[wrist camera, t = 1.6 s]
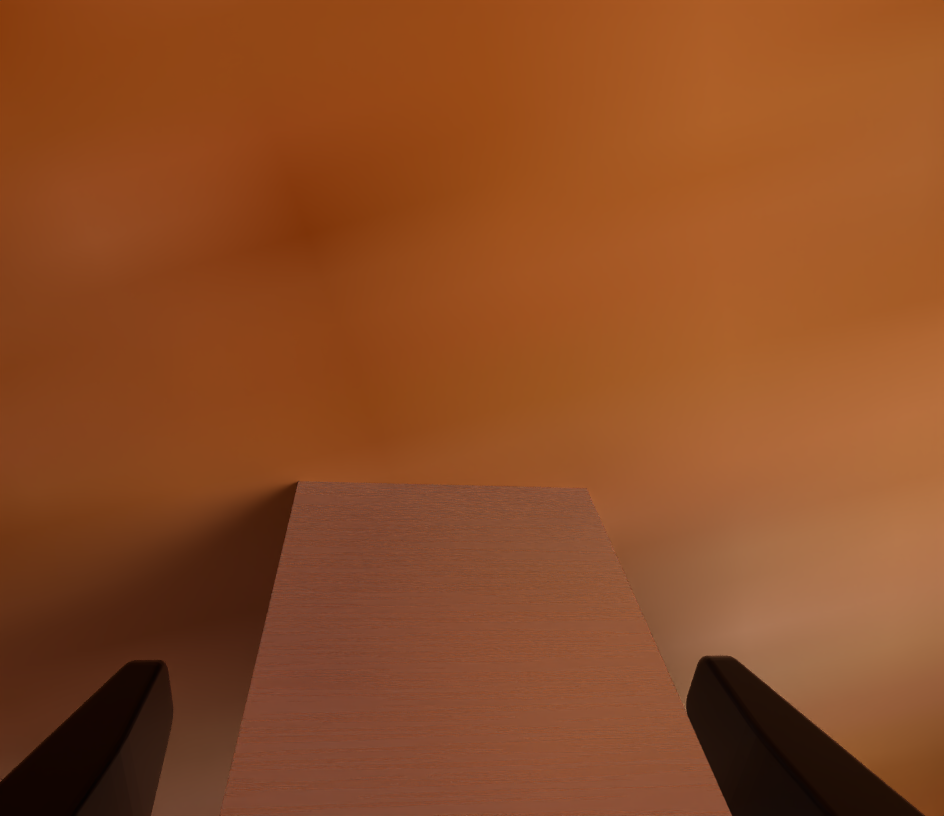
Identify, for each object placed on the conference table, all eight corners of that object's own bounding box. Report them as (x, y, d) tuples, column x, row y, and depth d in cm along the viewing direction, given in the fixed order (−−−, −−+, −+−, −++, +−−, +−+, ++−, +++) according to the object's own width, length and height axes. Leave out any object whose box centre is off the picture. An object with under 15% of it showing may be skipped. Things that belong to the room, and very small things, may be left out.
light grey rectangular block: (585, 488, 10) (812, 999, 4) (547, 688, 12) (676, 1226, 6) (298, 480, 9) (165, 1044, 4) (303, 692, 11) (216, 1281, 6)
